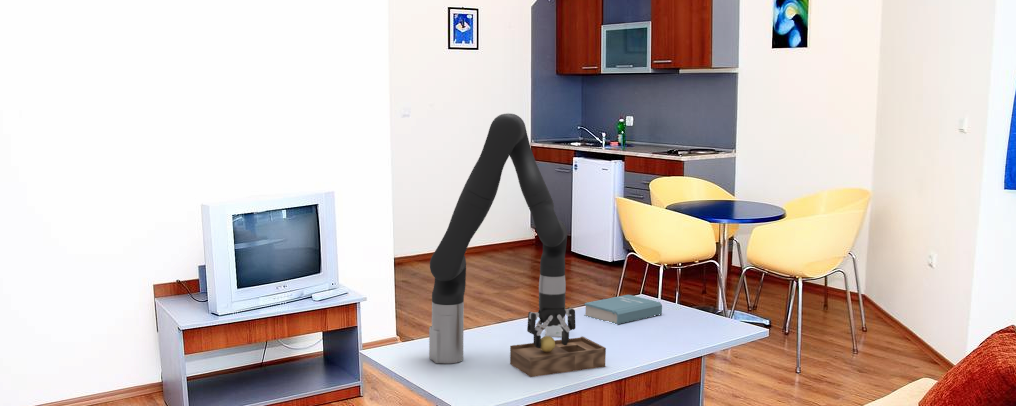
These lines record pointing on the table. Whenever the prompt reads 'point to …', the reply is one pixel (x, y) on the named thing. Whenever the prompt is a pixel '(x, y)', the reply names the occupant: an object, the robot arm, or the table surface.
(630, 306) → the book
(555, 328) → the syrup box
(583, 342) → the wooden tray with hole
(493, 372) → the table surface
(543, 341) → the ball
